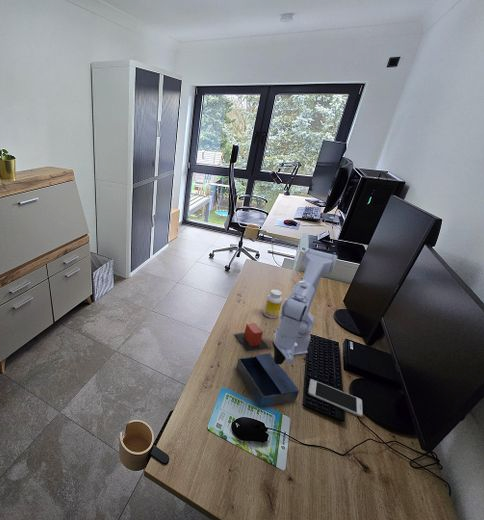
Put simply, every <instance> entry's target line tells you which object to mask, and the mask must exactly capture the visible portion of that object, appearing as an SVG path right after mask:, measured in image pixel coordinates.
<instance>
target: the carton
mask: <svg viewBox="0 0 484 520" xmlns="http://www.w3.org/2000/svg"><path fill="white" fill-rule="evenodd" d="M235 367H236V368H235V369H236V371H237V373H238V374H239V375H240V377H241V379H242V381H243V383H244V384H245V385H246V387H247V388H248V391H249V392H250V394H251V395H252V397H253V399H254V401H255V402H256V404H257V405H258V407H259V408H260V409H263V408H270V407H274V406H280V405H285V404H291V403H292V404H294V403H296V400H297V398H298V396H299V393H300V390H299V391H296V392H290V393H284V394H282V393H281V392H280V391H279V389H278V388H277V386H276V385H275V384H274V382H273V381H272V379H271V378H270V377H269V375H268V374H267V372H266V371H265V370H264V368H263V367H262V365H261V364H260V363H259V361H258V360H257V358H256V357H255V355H254V356H247V357H239V358H238V359H237V363H236V366H235Z"/></svg>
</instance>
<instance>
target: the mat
mask: <svg viewBox="0 0 484 520" xmlns="http://www.w3.org/2000/svg"><path fill="white" fill-rule="evenodd" d="M244 333H245V332H243V333H235V334H234V336H235V337H236V339H237V340H238V342H239V343H240V345H242V347H243V348H244V349H245V351H246V352H250V351H258V350H266V349H269V346H268V345H267V344H266V342H265V341H264V340H263V339H262V338H261V342H260V345H257V346H250V344H249V343H248V342H247V340H246V339H245V338H244Z"/></svg>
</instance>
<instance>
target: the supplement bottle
mask: <svg viewBox="0 0 484 520" xmlns="http://www.w3.org/2000/svg"><path fill="white" fill-rule="evenodd" d="M282 294H283V293H282V291H281V290H278V289H271V290H270V293H269V294H268V295H267V296H266V299H265V303H264V306H263V311H262V312H263V315H264V316H265V317H267V318H270V319H275V318H278V317H279V313H280V311H281V307H282V304H283V303H282V302H283V297H282Z"/></svg>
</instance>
